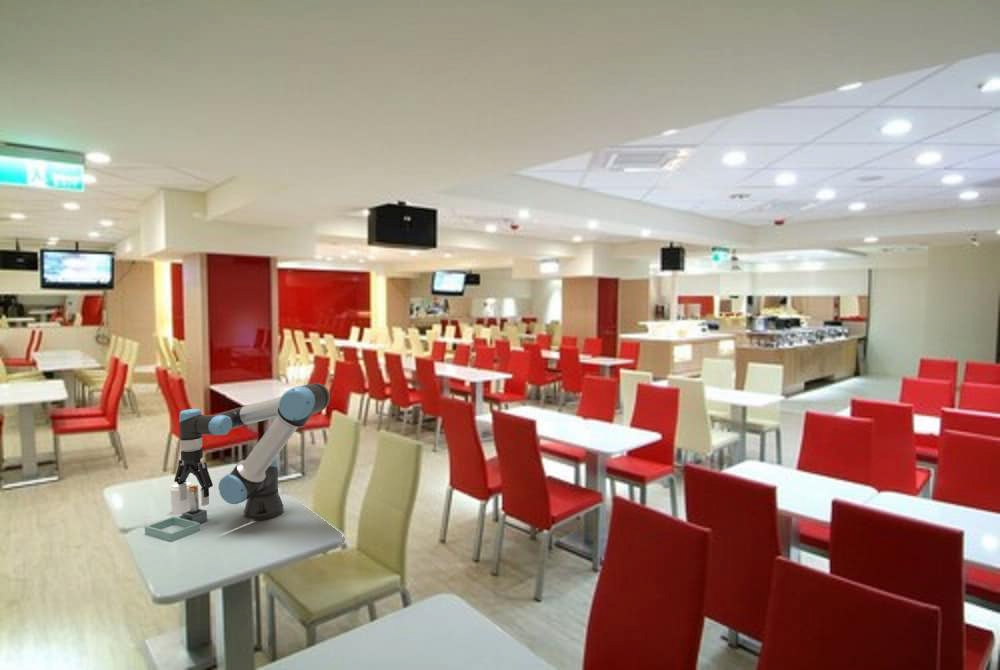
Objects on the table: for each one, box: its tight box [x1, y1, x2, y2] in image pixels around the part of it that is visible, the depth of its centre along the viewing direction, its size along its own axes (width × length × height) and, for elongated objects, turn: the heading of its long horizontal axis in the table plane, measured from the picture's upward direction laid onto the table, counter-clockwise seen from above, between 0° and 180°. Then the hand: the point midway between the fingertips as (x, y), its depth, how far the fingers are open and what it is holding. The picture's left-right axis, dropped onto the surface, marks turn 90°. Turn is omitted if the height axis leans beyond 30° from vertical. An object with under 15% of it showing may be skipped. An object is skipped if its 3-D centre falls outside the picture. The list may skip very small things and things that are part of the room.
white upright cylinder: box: [170, 481, 194, 515], centre depth 225 cm, size 8×8×12 cm
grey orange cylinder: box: [189, 485, 200, 515], centre depth 212 cm, size 3×3×14 cm
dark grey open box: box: [179, 508, 211, 525], centre depth 213 cm, size 12×8×5 cm, turn 63°
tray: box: [144, 516, 201, 542], centre depth 202 cm, size 16×11×4 cm
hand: (194, 502), depth 212 cm, fingers open, 13 cm apart
